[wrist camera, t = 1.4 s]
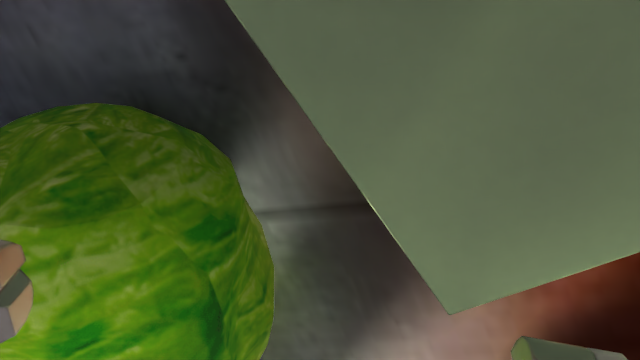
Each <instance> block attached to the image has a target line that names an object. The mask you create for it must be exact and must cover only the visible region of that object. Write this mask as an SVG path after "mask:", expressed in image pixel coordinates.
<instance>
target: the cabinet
mask: <svg viewBox="0 0 640 360" xmlns="http://www.w3.org/2000/svg"><path fill="white" fill-rule="evenodd" d="M225 1H226V3H227V4H228V6H229V7H230V9H231V10H232V11H233V13H234V14H235V16H236V17H237V18H238V20H239V21H240V23H241V24H242V25H243V27H244V28H245V30H246V31H247V32H248V34H249V35H250V37H251V38H252V39H253V41H254V42H255V44H256V45H257V46H258V48H259V49H260V51H261V52H262V53H263V55H264V56H265V58H266V59H267V60H268V62H269V63H270V65H271V66H272V67H273V69H274V70H275V72H276V73H277V75H278V76H279V77H280V79H281V80H282V82H283V83H284V84H285V86H286V87H287V89H288V90H289V91H290V93H291V94H292V96H293V97H294V98H295V100H296V101H297V103H298V104H299V105H300V107H301V108H302V110H303V111H304V112H305V114H306V115H307V117H308V118H309V119H310V121H311V122H312V124H313V125H314V126H315V128H316V129H317V131H318V132H319V133H320V135H321V136H322V138H323V139H324V141H325V142H326V143H327V145H328V146H329V148H330V149H331V150H332V152H333V153H334V155H335V156H336V157H337V159H338V160H339V162H340V163H341V164H342V166H343V167H344V169H345V170H346V171H347V173H348V174H349V176H350V177H351V178H352V180H353V181H354V183H355V184H356V185H357V187H358V188H359V190H360V191H361V192H362V194H363V195H364V197H365V198H366V199H367V201H368V202H369V204H370V205H371V207H372V208H373V209H374V211H375V212H376V214H377V215H378V216H379V218H380V219H381V221H382V222H383V223H384V225H385V226H386V228H387V229H388V230H389V232H390V233H391V235H392V236H393V237H394V239H395V240H396V242H397V243H398V244H399V246H400V247H401V249H402V250H403V251H404V253H405V254H406V256H407V257H408V258H409V260H410V261H411V263H412V264H413V265H414V267H415V268H416V270H417V271H418V273H419V274H420V275H421V277H422V278H423V280H424V281H425V282H426V284H427V285H428V287H429V288H430V289H431V291H432V292H433V294H434V295H435V296H436V298H437V299H438V301H439V302H440V303H441V305H442V306H443V308H444V309H445V310H446V312H447V313H448V315H452V314H455V313H458V312H461V311H464V310H467V309H470V308H473V307H476V306H479V305H482V304H485V303H488V302H491V301H494V300H497V299H500V298H503V297H506V296H509V295H512V294H515V293H518V292H521V291H524V290H527V289H530V288H533V287H536V286H539V285H542V284H545V283H548V282H551V281H554V280H557V279H560V278H563V277H566V276H569V275H572V274H575V273H578V272H581V271H584V270H587V269H590V268H593V267H596V266H599V265H602V264H605V263H608V262H611V261H614V260H617V259H620V258H623V257H626V256H629V255H632V254H635V253H638V252H640V0H225Z"/></svg>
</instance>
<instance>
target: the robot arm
mask: <svg viewBox="0 0 640 360" xmlns="http://www.w3.org/2000/svg"><path fill="white" fill-rule="evenodd" d="M25 262H26V258H25V255H24V252H23V249H22V246H21V245H19V244H16V243H13V242H9V241H5V240H0V343H2V342H4V341H6V340H8V339H10V338H12V337H14V336H16V334H17V333H18V332H19V330H20V329H21V328H22V326H23V325H24V324H25V323H26V321H27V319H28V316H29V314H30V311H31V309H32V306H33V299H34V289H33V285H32V281H31V280H30V279H29V277H28V276H27V275H26V274H25V273H24V272H23V271H22V270H21V269H20V268H21V267H22V266H23V264H24V263H25ZM511 355H512V360H628V359H627V358H626V357H625V356H624V355H623V354H621V353H616V352H610V351H604V350H599V349H593V348H585V347H582V346H577V345H571V344H565V343H560V342H554V341H548V340H542V339H537V338H531V337H525V336H521V337H520V338H519V339H518V340H516V342H515V344H514V346H513V348H512V350H511Z"/></svg>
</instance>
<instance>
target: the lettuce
mask: <svg viewBox="0 0 640 360" xmlns="http://www.w3.org/2000/svg"><path fill="white" fill-rule="evenodd" d="M0 240H5V241H9V242H13V243H16V244H19V245H21V246H22V249H23V252H24V255H25V258H26V262H25V263H24V264H23V266H22V267H21V268H20V269H21V270H22V271H23V272H24V273H25V274H26V275H27V276H28V277H29V279H30V280H31V281H32V285H33V289H34V299H33V306H32V309H31V311H30V314H29V316H28V319H27V321H26V323H25V324H24V325H23V326H22V328H21V329H20V330H19V332H18V333H17V334H16V336H14V337H12V338H10V339H8V340H6V341H4V342H2V343H0V360H260V358H261V356H262V354H263V352H264V351H265V349H266V347H267V345H268V342H269V337H270V332H271V328H272V323H273V318H274V264H273V261H272V258H271V255H270V251H269V248H268V245H267V241H266V238H265V235H264V232H263V228H262V225H261V224H260V222H259V220H258V219H257V217H256V215H255V214H254V212H253V211H252V209H251V207H250V206H249V204H248V203H247V201H246V199H245V198H244V196H243V193H242V191H241V188H240V185H239V182H238V179H237V176H236V173H235V171H234V168H233V165H232V162H231V160H230V159H229V158H228V157H227V156H226V155H225V154H224V153H222V152H221V151H220V150H219V149H218V148H217V147H215V146H214V145H213V144H212V143H211V142H210V141H209V140H207V139H206V138H205V137H204V136H203V135H201V134H199V133H196V132H194V131H192V130H189V129H187V128H185V127H182V126H180V125H178V124H175V123H173V122H171V121H168V120H166V119H163V118H161V117H159V116H156V115H153V114H151V113H148V112H145V111H142V110H140V109H137V108H134V107H131V106H123V105H113V104H103V103H89V104H79V105H68V106H58V107H54V108H51V109H48V110H44V111H41V112H37V113H34V114H30V115H27V116H24V117H20V118H18V119H16V120H14V121H13V122H11V123H9V124H7V125H5V126H3V127H1V128H0Z"/></svg>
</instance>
